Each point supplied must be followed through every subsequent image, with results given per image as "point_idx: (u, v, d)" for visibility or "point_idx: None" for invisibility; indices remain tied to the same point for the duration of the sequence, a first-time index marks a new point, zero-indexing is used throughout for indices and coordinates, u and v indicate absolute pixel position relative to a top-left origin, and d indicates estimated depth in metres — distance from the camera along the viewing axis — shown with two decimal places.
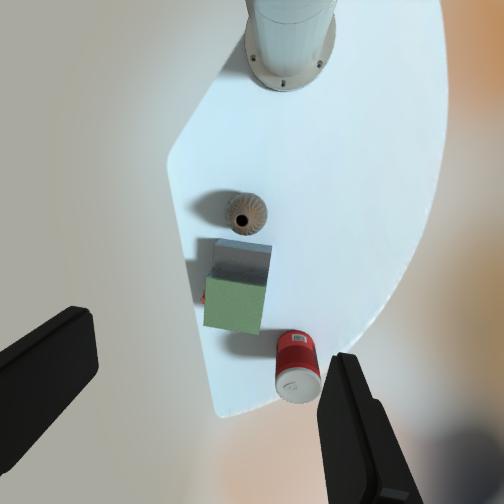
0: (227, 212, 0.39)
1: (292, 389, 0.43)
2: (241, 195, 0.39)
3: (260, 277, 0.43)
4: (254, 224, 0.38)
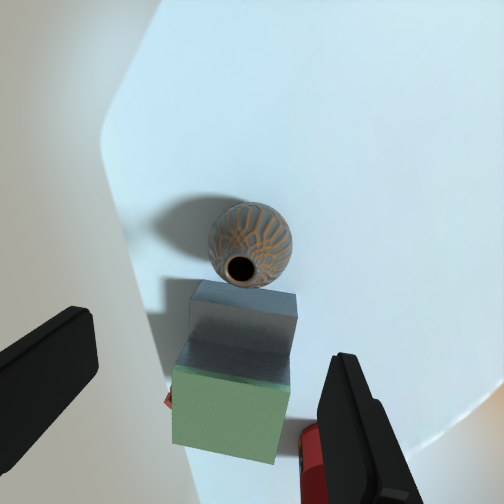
0: (211, 245, 0.18)
1: None
2: (240, 209, 0.18)
3: (276, 358, 0.23)
4: (268, 273, 0.17)
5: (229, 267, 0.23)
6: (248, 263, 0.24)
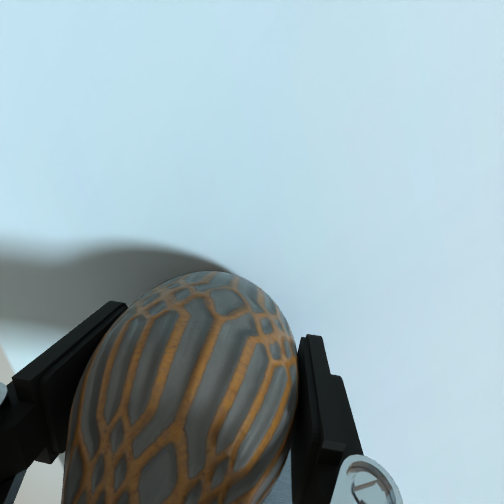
0: None
1: None
2: (156, 317, 0.07)
3: None
4: None
5: None
6: None
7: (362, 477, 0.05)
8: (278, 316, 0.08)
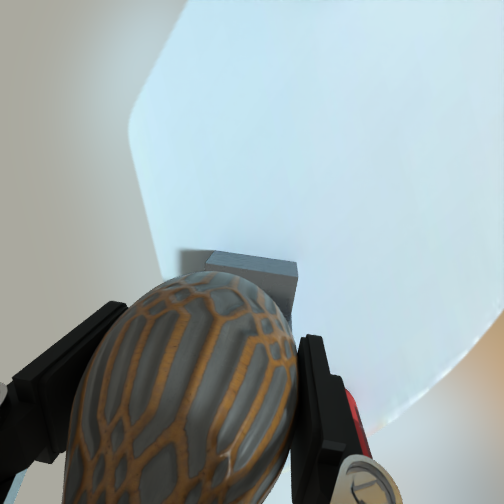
0: None
1: None
2: (156, 317, 0.07)
3: None
4: None
5: None
6: None
7: (362, 477, 0.05)
8: (278, 316, 0.08)
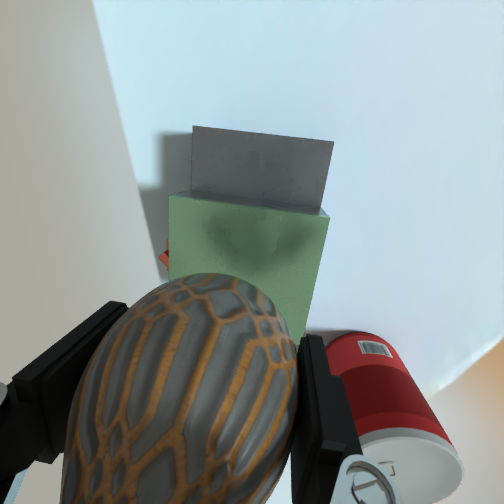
0: None
1: None
2: (155, 320, 0.07)
3: (304, 206, 0.18)
4: None
5: None
6: None
7: (362, 477, 0.05)
8: (278, 318, 0.08)
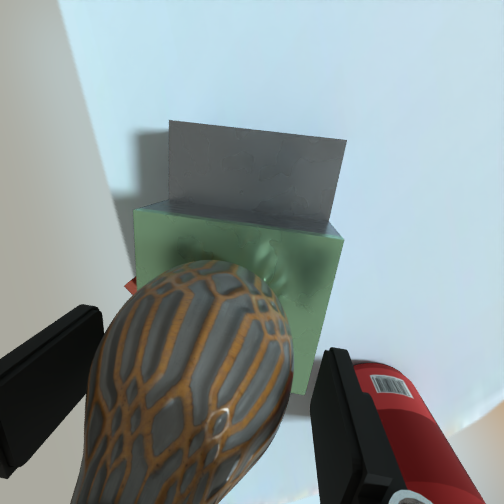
0: (87, 389, 0.07)
1: None
2: (164, 296, 0.07)
3: (309, 220, 0.14)
4: (227, 489, 0.06)
5: None
6: None
7: None
8: (273, 299, 0.09)
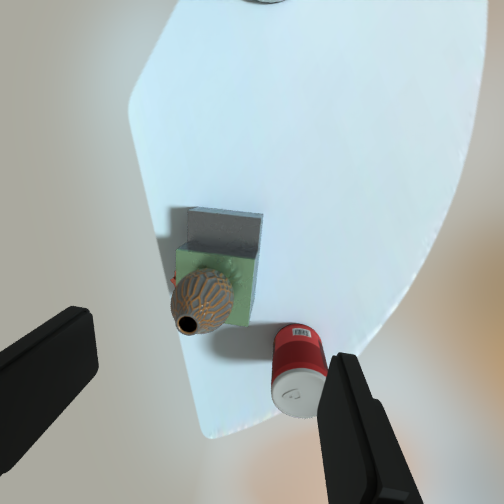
0: (171, 304, 0.26)
1: (294, 399, 0.32)
2: (192, 278, 0.26)
3: (248, 251, 0.33)
4: (209, 324, 0.25)
5: None
6: None
7: None
8: (226, 280, 0.28)
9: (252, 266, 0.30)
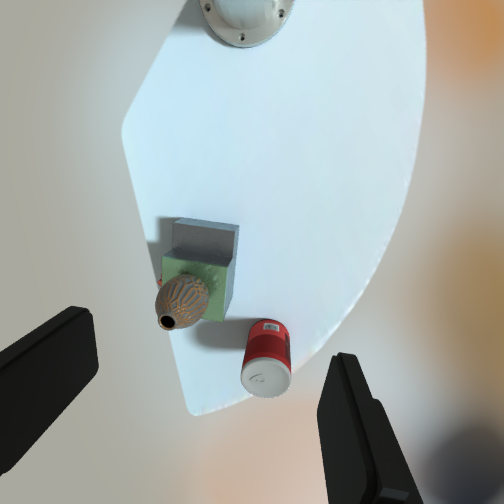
0: (155, 304, 0.32)
1: (259, 382, 0.39)
2: (172, 283, 0.32)
3: (224, 258, 0.39)
4: (186, 321, 0.31)
5: None
6: None
7: None
8: (201, 285, 0.34)
9: (225, 273, 0.36)
